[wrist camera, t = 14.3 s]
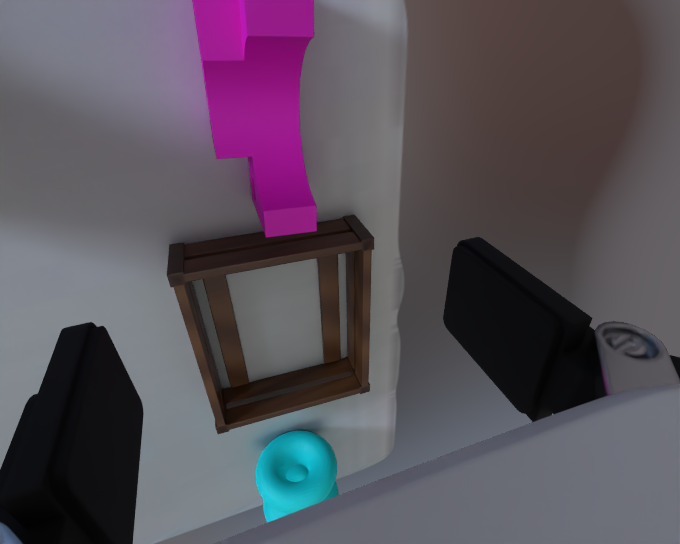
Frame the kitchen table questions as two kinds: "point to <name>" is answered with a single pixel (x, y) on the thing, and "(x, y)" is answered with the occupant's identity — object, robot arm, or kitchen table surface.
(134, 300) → the kitchen table surface
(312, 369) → the crate
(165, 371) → the kitchen table surface
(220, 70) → the magenta cradle bracket
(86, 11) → the kitchen table surface
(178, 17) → the kitchen table surface
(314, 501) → the donuts
